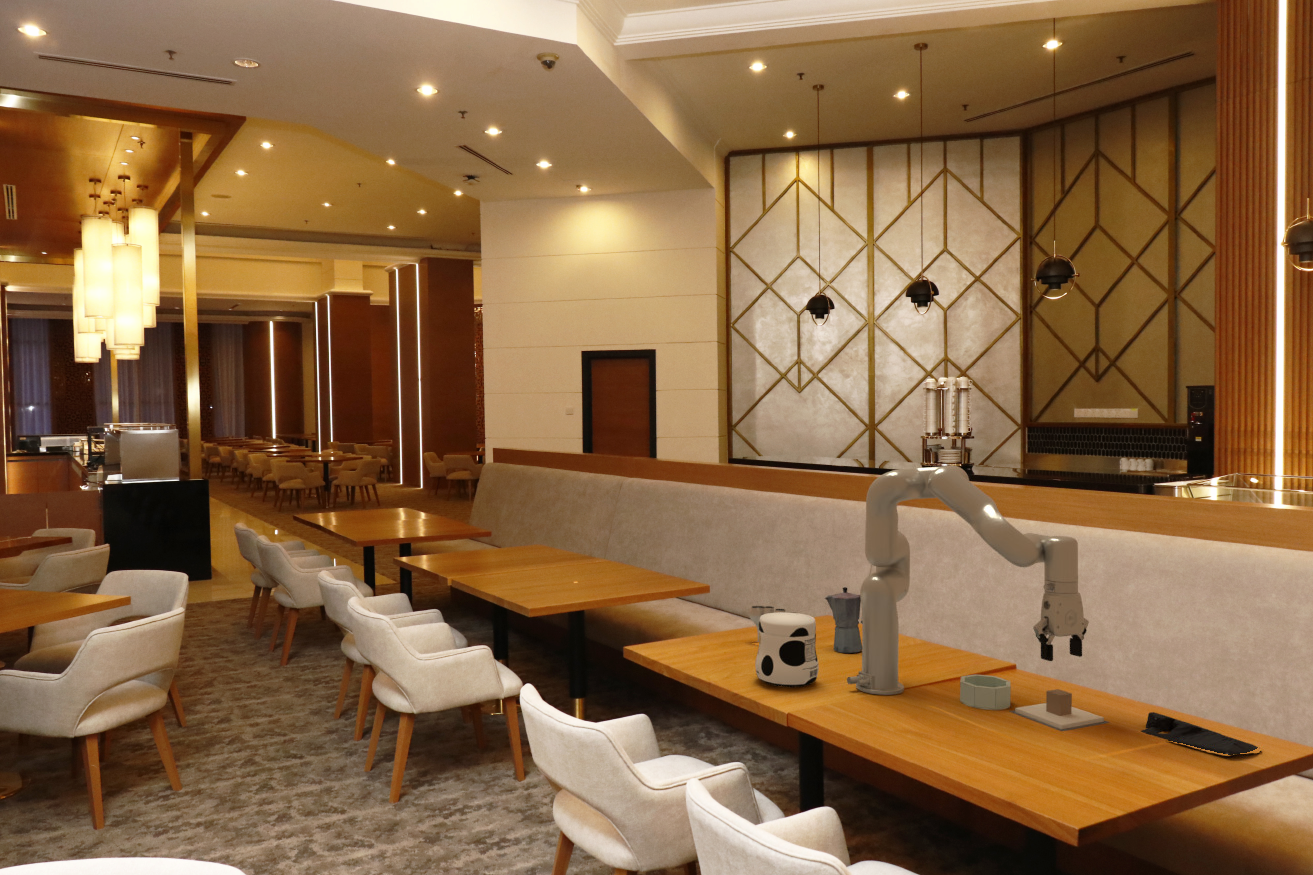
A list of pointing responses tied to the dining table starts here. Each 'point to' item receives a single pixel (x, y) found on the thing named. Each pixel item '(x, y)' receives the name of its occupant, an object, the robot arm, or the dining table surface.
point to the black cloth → (1194, 735)
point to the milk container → (787, 650)
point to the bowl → (985, 692)
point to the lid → (1059, 711)
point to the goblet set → (761, 610)
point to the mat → (1058, 728)
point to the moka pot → (846, 621)
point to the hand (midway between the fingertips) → (1061, 657)
